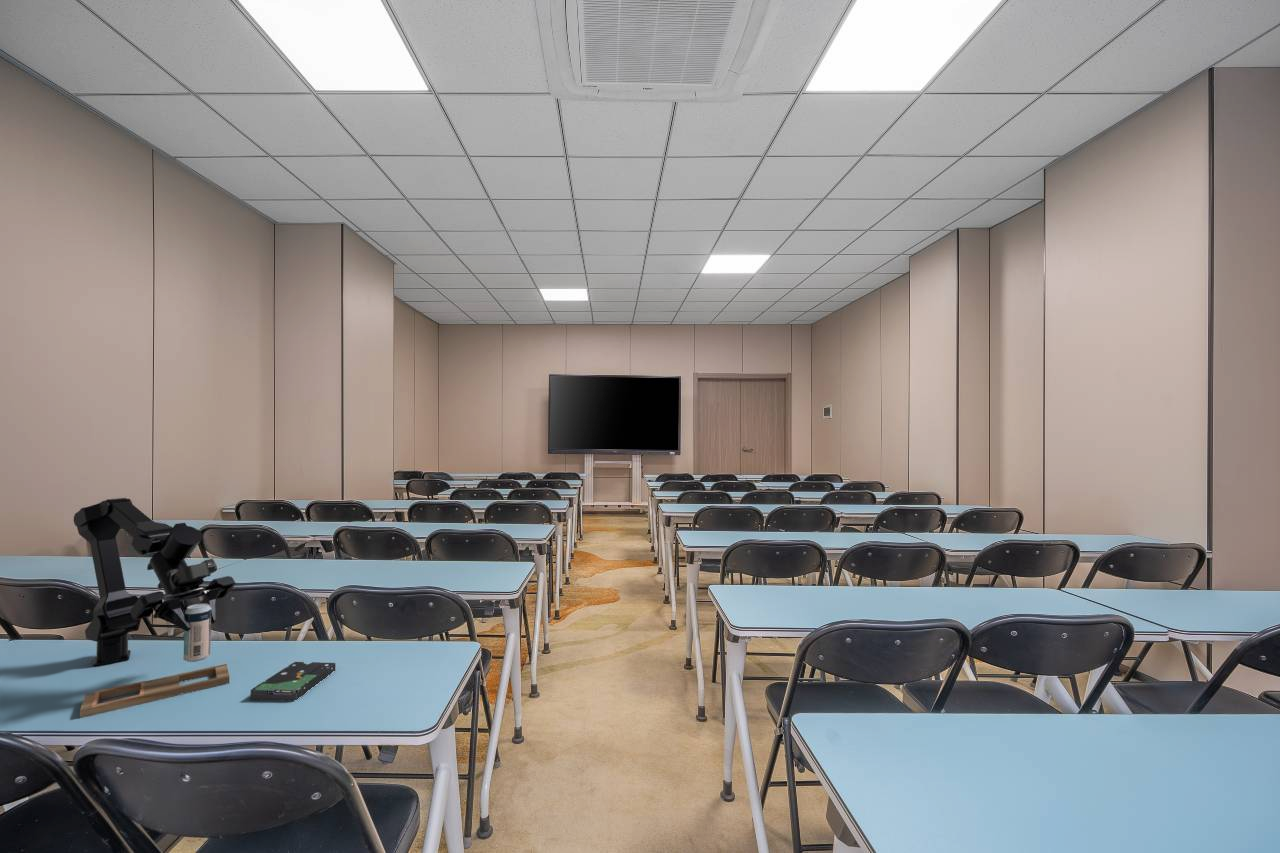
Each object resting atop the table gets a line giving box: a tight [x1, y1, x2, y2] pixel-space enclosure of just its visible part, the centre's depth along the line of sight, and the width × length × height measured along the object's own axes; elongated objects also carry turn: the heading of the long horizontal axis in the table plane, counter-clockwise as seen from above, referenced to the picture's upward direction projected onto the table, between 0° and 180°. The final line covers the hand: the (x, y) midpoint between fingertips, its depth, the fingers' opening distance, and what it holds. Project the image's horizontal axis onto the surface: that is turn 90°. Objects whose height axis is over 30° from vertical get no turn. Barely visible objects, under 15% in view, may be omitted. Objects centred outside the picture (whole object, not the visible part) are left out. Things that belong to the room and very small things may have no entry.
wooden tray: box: [79, 663, 230, 719], centre depth 121 cm, size 9×24×2 cm, turn 130°
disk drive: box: [249, 661, 336, 702], centre depth 125 cm, size 10×3×15 cm
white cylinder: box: [183, 603, 212, 663], centre depth 125 cm, size 5×5×12 cm
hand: (201, 626), depth 124 cm, fingers closed on white cylinder, 5 cm apart
